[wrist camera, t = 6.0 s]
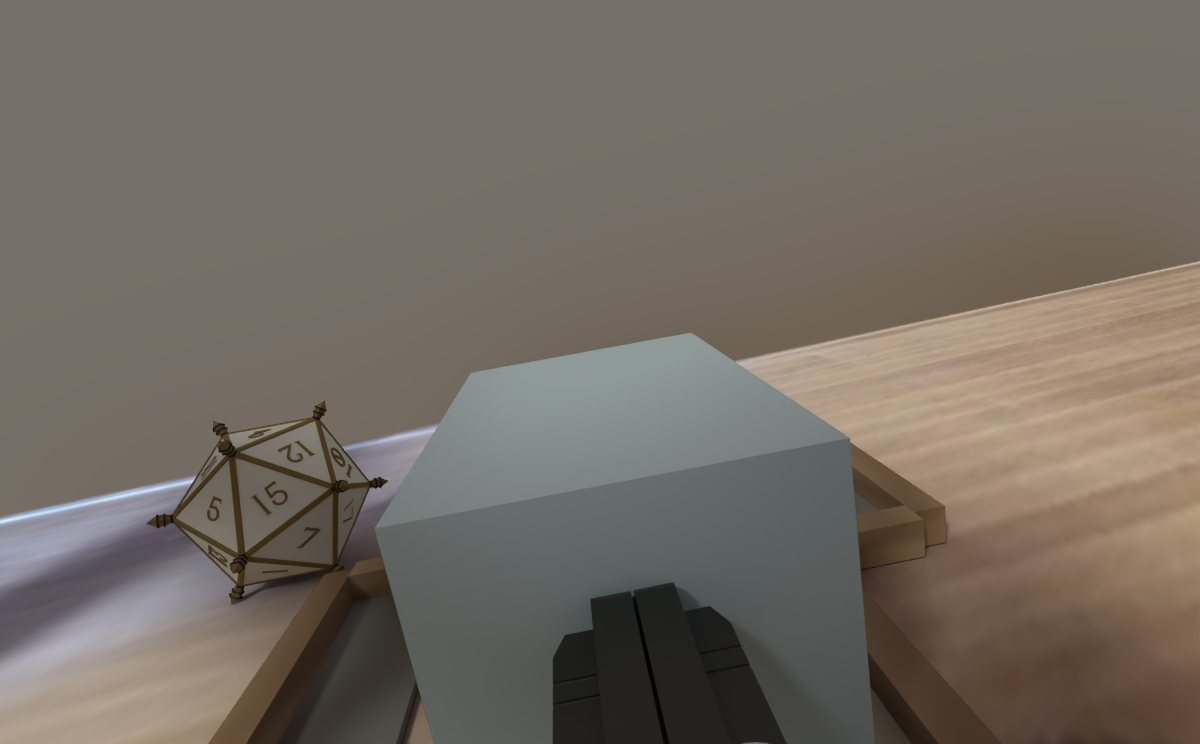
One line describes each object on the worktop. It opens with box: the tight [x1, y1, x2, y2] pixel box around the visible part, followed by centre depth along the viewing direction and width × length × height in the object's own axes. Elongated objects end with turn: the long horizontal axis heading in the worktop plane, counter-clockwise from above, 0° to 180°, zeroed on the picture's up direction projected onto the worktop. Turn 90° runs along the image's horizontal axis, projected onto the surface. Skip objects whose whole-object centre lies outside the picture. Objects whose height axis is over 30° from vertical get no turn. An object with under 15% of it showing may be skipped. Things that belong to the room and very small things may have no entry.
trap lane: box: [209, 443, 1001, 744], centre depth 24 cm, size 25×30×2 cm
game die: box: [146, 401, 388, 604], centre depth 28 cm, size 9×8×10 cm
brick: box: [374, 333, 875, 744], centre depth 17 cm, size 8×12×9 cm, turn 4°
